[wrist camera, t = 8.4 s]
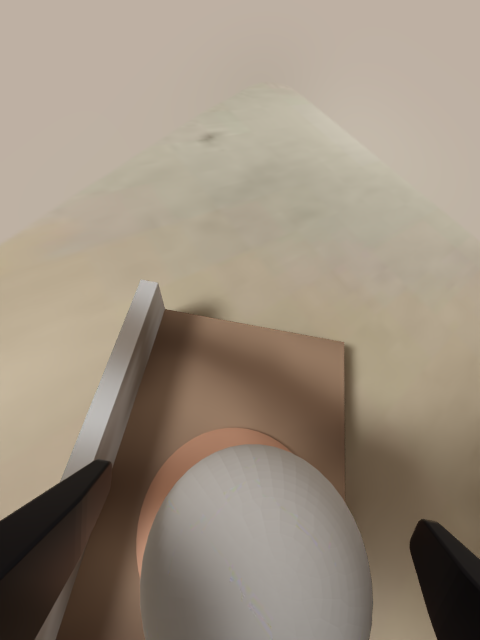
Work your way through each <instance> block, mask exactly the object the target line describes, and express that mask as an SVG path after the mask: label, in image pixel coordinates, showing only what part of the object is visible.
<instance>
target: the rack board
mask: <svg viewBox="0 0 480 640" xmlns="http://www.w3.org/2000/svg"><path fill="white" fill-rule="evenodd" d="M244 444H261V445H267V446H273V447H277V448H280V449H282V450H285V451H288V452H291V453H293V454H294V455H296V456H298V457H300V458H302V459H304V460H305V461H307V462H308V463H309V464H311V465H312V466H313V467H315V468H316V469H317V470H318V471H319V472H320V473H321V474H322V475H323V476H324V477H325V478H326V479H327V480H328V481H329V482H330V483H331V484H332V485H333V486H334V488H335V489H336V490H337V492H338V493H339V494H340V495H341V497H342V498H343V500H344V502H345V410H344V342H340V341H334V340H329V339H323V338H318V337H313V336H307V335H302V334H296V333H291V332H285V331H280V330H275V329H269V328H264V327H258V326H253V325H248V324H242V323H237V322H231V321H226V320H221V319H215V318H210V317H204V316H199V315H194V314H188V313H183V312H177V311H172V310H167V309H165V307H164V304H163V300H162V296H161V292H160V288H159V285H158V283H156V282H151V281H145V280H140V283H139V285H138V288H137V290H136V293H135V296H134V298H133V301H132V303H131V306H130V308H129V311H128V313H127V316H126V318H125V321H124V323H123V326H122V328H121V331H120V333H119V336H118V338H117V341H116V343H115V346H114V348H113V351H112V353H111V356H110V358H109V361H108V363H107V366H106V368H105V371H104V373H103V376H102V378H101V381H100V383H99V386H98V388H97V391H96V393H95V396H94V398H93V401H92V403H91V406H90V408H89V411H88V413H87V416H86V418H85V421H84V423H83V426H82V428H81V431H80V433H79V436H78V438H77V441H76V443H75V446H74V448H73V451H72V453H71V456H70V458H69V461H68V463H67V466H66V468H65V471H64V473H63V476H62V478H61V481H63V480H64V479H66V478H67V477H69V476H71V475H72V474H74V473H75V472H77V471H78V470H80V469H81V468H83V467H85V466H86V465H88V464H89V463H91V462H92V461H94V460H96V459H101V460H107V461H110V462H111V463H112V476H111V487H110V491H109V494H108V496H107V499H106V501H105V503H104V505H103V508H102V510H101V512H100V514H99V517H98V519H97V521H96V523H95V526H94V528H93V530H92V532H91V535H90V537H89V539H88V541H87V544H86V546H85V548H84V550H83V552H82V555H81V557H80V559H79V561H78V563H77V564H76V566H75V568H74V570H73V572H72V574H71V575H70V577H69V579H68V581H67V583H66V584H65V586H64V588H63V590H62V592H61V593H60V595H59V597H58V599H57V601H56V602H55V604H54V606H53V608H52V610H51V611H50V613H49V615H48V617H47V619H46V620H45V622H44V624H43V626H42V628H41V629H40V631H39V633H38V635H37V637H36V638H35V640H146V639H145V635H144V630H143V623H142V615H141V608H140V578H141V569H142V561H143V555H144V551H145V547H146V543H147V539H148V535H149V532H150V529H151V527H152V524H153V522H154V519H155V516H156V514H157V512H158V510H159V508H160V507H161V505H162V503H163V501H164V499H165V497H166V496H167V495H168V493H169V492H170V490H171V489H172V488H173V486H174V485H175V484H176V482H177V481H178V480H179V479H180V478H181V477H182V476H183V475H184V474H185V473H186V472H187V471H188V470H189V469H190V468H191V467H193V466H194V465H195V464H197V463H198V462H199V461H201V460H202V459H204V458H205V457H207V456H209V455H211V454H213V453H215V452H217V451H220V450H223V449H225V448H228V447H232V446H238V445H244ZM61 481H60V482H61Z"/></svg>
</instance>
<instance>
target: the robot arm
mask: <svg viewBox="0 0 480 640" xmlns="http://www.w3.org/2000/svg"><path fill="white" fill-rule="evenodd" d="M111 476H112V463H111V462H110V461H107V460H101V459H96V460H94V461H92V462H91V463H89V464H88V465H86V466H85V467H83V468H81V469H80V470H78V471H77V472H75V473H74V474H72V475H71V476H69V477H67V478H66V479H64V480H63V481H61V482H60V483H58V484H57V485H55V486H54V487H52V488H50V489H49V490H47V491H46V492H44V493H43V494H41V495H40V496H38V497H36V498H35V499H33V500H32V501H30V502H29V503H27V504H26V505H24V506H23V507H21V508H19V509H18V510H16V511H15V512H13V513H12V514H10V515H9V516H7V517H5V518H4V519H2V520H1V521H0V640H35V638H36V637H37V635H38V633H39V631H40V629H41V628H42V626H43V624H44V622H45V620H46V619H47V617H48V615H49V613H50V611H51V610H52V608H53V606H54V604H55V602H56V601H57V599H58V597H59V595H60V593H61V592H62V590H63V588H64V586H65V584H66V583H67V581H68V579H69V577H70V575H71V574H72V572H73V570H74V568H75V566H76V564H77V563H78V561H79V559H80V557H81V555H82V552H83V550H84V548H85V546H86V544H87V541H88V539H89V537H90V535H91V532H92V530H93V528H94V526H95V523H96V521H97V519H98V517H99V514H100V512H101V510H102V508H103V505H104V503H105V501H106V499H107V496H108V494H109V491H110V487H111ZM410 552H411V555H412V559H413V562H414V566H415V569H416V573H417V576H418V580H419V583H420V586H421V590H422V593H423V597H424V600H425V604H426V607H427V611H428V614H429V617H430V620H431V623H432V626H433V629H434V632H435V634H436V637H437V640H480V559H479V558H477V557H476V556H475V555H474V554H473V553H472V552H471V551H470V550H468V549H467V548H466V547H465V546H464V545H463V544H462V543H461V542H459V541H458V540H457V539H456V538H455V537H454V536H453V535H452V534H450V533H449V532H448V531H447V530H446V529H445V528H444V527H443V526H441V525H440V524H439V523H438V522H435V521H431V520H425V519H421V520H420V521H419V522H418V524H417V526H416V528H415V530H414V533H413V535H412V537H411V539H410Z"/></svg>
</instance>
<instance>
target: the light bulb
mask: <svg viewBox="0 0 480 640" xmlns="http://www.w3.org/2000/svg"><path fill="white" fill-rule="evenodd" d="M140 608H141V615H142V623H143V630H144V635H145V639H146V640H369V637H370V631H371V626H372V609H373V596H372V580H371V574H370V568H369V562H368V557H367V553H366V550H365V546H364V543H363V540H362V536H361V534H360V531H359V529H358V527H357V524H356V522H355V520H354V517H353V515H352V514H351V512H350V510H349V508H348V507H347V505H346V503H345V502H344V500H343V498H342V497H341V495H340V494H339V493H338V492H337V490H336V489H335V488H334V486H333V485H332V484H331V483H330V482H329V481H328V480H327V479H326V478H325V477H324V476H323V475H322V474H321V473H320V472H319V471H318V470H317V469H316V468H315V467H313V466H312V465H311V464H309V463H308V462H307V461H305V460H304V459H302V458H300V457H298V456H296V455H294V454H293V453H291V452H288V451H285V450H282V449H280V448H277V447H273V446H267V445H261V444H244V445H238V446H232V447H228V448H225V449H223V450H220V451H217V452H215V453H213V454H211V455H209V456H207V457H205V458H204V459H202V460H201V461H199V462H198V463H197V464H195V465H194V466H193V467H191V468H190V469H189V470H188V471H187V472H186V473H185V474H184V475H183V476H182V477H181V478H180V479H179V480H178V481H177V482H176V484H175V485H174V486H173V488H172V489H171V490H170V492H169V493H168V495H167V496H166V497H165V499H164V501H163V503H162V505H161V507H160V508H159V510H158V512H157V514H156V516H155V519H154V522H153V524H152V527H151V529H150V532H149V535H148V539H147V543H146V547H145V551H144V555H143V561H142V569H141V578H140Z"/></svg>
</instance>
